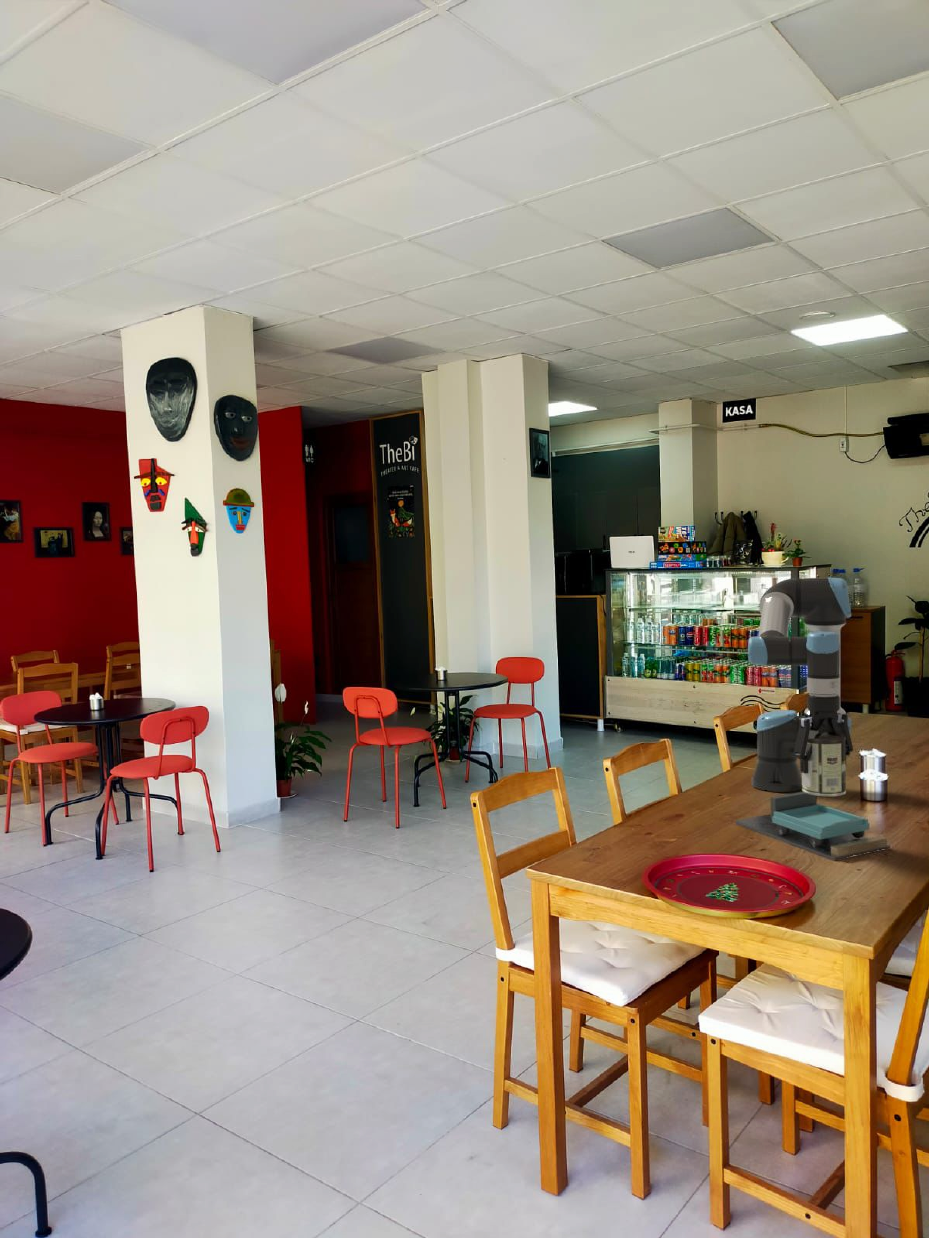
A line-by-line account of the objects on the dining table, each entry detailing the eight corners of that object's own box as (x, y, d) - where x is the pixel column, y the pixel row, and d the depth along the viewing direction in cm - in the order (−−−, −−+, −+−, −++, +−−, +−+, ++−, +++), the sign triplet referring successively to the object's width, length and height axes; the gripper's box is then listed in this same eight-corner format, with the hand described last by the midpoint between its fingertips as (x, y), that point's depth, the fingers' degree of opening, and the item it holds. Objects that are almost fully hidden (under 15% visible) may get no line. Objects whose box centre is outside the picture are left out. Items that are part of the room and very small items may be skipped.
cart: (767, 830, 229) (767, 797, 228) (815, 821, 235) (814, 789, 234) (820, 849, 213) (820, 814, 212) (869, 839, 219) (869, 805, 218)
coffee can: (821, 784, 228) (821, 730, 227) (855, 792, 219) (855, 736, 218) (792, 790, 223) (792, 734, 222) (826, 799, 214) (825, 741, 213)
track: (735, 823, 239) (735, 813, 238) (786, 814, 246) (786, 804, 246) (834, 860, 207) (834, 849, 207) (890, 848, 215) (890, 837, 214)
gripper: (799, 700, 212) (800, 792, 213) (869, 692, 221) (869, 780, 222) (776, 696, 219) (777, 785, 220) (845, 689, 228) (845, 774, 229)
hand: (823, 783), depth 221 cm, fingers closed on coffee can, 10 cm apart
